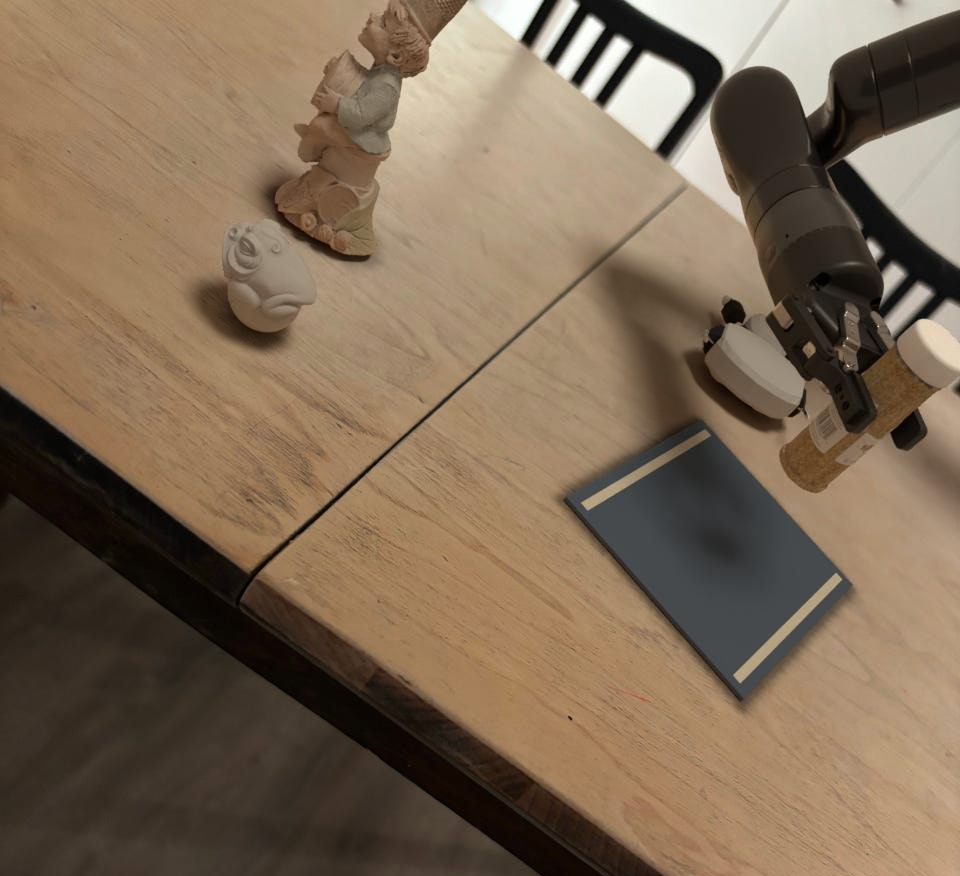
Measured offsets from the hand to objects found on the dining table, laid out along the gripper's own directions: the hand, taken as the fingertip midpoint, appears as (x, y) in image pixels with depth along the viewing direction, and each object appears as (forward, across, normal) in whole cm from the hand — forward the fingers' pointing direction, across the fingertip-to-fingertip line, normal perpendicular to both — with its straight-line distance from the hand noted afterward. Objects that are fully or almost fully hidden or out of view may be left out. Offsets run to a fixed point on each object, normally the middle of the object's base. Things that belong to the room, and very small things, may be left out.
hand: (888, 433), depth 66 cm
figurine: (-27, -33, +18) cm, 46 cm away
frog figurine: (-14, -39, +18) cm, 45 cm away
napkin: (-3, 0, +17) cm, 17 cm away
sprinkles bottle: (-3, 0, +8) cm, 8 cm away
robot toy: (-26, +11, +18) cm, 33 cm away
